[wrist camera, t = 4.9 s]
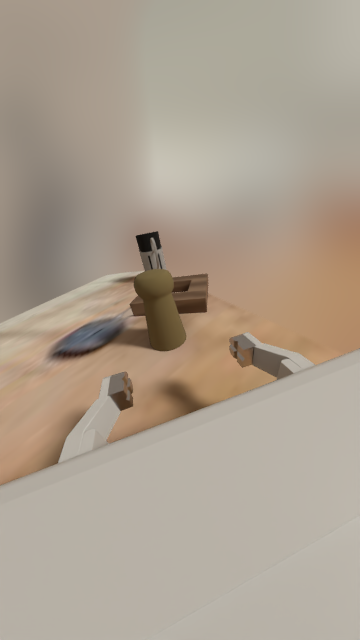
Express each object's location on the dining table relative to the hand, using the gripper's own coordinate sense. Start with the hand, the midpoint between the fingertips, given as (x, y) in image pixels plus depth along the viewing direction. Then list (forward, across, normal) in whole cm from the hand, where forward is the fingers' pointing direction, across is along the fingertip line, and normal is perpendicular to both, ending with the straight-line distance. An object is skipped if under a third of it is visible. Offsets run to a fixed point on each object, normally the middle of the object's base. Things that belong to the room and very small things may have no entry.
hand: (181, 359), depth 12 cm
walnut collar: (+27, +5, -7) cm, 28 cm away
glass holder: (+48, +4, -7) cm, 48 cm away
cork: (+12, 0, -7) cm, 14 cm away
